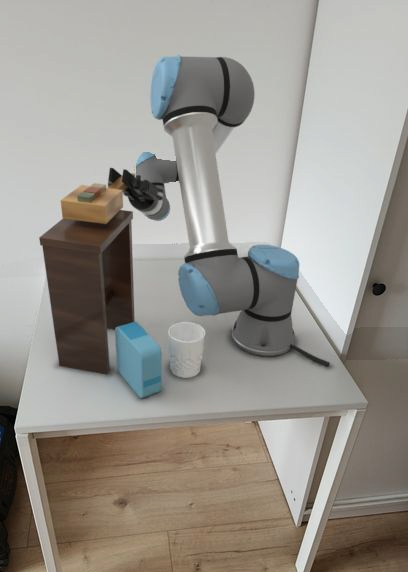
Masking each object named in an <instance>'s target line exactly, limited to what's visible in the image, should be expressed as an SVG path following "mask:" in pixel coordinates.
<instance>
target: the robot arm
mask: <svg viewBox="0 0 408 572" xmlns="http://www.w3.org/2000/svg"><path fill="white" fill-rule="evenodd" d="M149 98H150V111H151V114H152V117H153V118H154V119H156V120H158V121H161V120H162V125H163V130H164V132H166V133H167V134H168V135H169V136H170V137H172V142H173V143H172V144H173V149H174V155H175V156H176V161H170V160H162V159H157V158H156V156H155V154H152V153H150V152H143V153H142V154H141V155H140V156H139V158H138V160H137V163H136V173H135V177H134V176H133V175H132V174H131V172H130V171H129V170H127V169H125V168H123V169H122V174H121V173H120V172H118V171H117V169H115V168H113V167H109V170H108V171H109V172H108V178H107V188H108V187H109V186H110V185H111V184H112V183H114V182H115V181H116V180H117V179H118V178H120V177H121V176H122V175H123V176H122V182H123V183H124V184H125V185H126V186H128V187H127V188H126V189H125V190H124V191H123V196H125V197H127V199H128V202H129V204H130V205H131V206H132V207H133V208H134V209H136V210H137V211H139V212H140V213H142V214H143V215H144V217H146V218H147V219H149V220H152V221H154V222H155V221H156V222H161V221H163V220H165V219H167V217H168V216H169V214H170V212H171V204H170V201H169V200H168V198H167V193H166V186H165V184H170V183H169V182H176V181H179V182H178V183H179V188H180V194H181V200H182V207H183V214H184V220H185V225H186V226H185V227H186V233H187V238H188V239H187V240H188V245H189V248H188V250H187V252H186V253H185V255H183V256H184V257H183V258H184V263H183V264H181V265H180V266H179V268H178V272H177V275H178V281H177V282H178V286H179V290H180V294H181V297H182V299H183V301H184V303H185V305H186V307H187V308H188V309H189V311H190V312H191V313H192V314H193V315H195V316H197V317H207V316H219V315H221V314H228V313H233V312H239V314H238V316H237V318H236V320H234V321H233V323H232V327H231V340H232V341H233V343H234V345H235V346H236V347H238V349H240V350H242V351H244V353H245V352H246V353H247V354H251V355H254V356H258V357H278V356H281V355H284V354H286V353H288V352H289V351H290V350H294V351H295V352H297V353H299V354H301V355H303V356H304V357H306V358H308V359H310V360H312V361H314V362H317V363H318V364H321V365H324V366H326V367H329V366H330V364H331V363H330V362H329V361H327V360H324V359H322V358H319V357H317V356H314V355H313V354H311V353H309V352H308V351H306V350H303V349H302V348H300V347H298V346H296V345H295V344H294V342H295V331H294V328H293V318H292V312H293V307H294V301H295V295H296V290H297V285H298V284H297V283H298V280H299V278H300V277H299V276H300V275H299V274H300V261H299V258H298V257H297V256H296V255H295V254H294V253H292V252H291V251H289V250H287V249H284V248H283V247H282V248H281V247H279V246H276V245H271V244H255V245H252V246H251V247H250V248H249V249H248V251H247V256H242V257H241V256H240V257H239V255H238V248H237V247H236V246H235V245H233V244H232V243H231V242H230V240H229V234H228V228H227V222H226V215H225V207H224V202H223V195H222V189H221V188H222V187H221V182H220V181H221V180H220V175H219V169H218V168H219V167H218V161H217V155H216V154H217V153H218V152H219V150H220V149H221V148H222V146H223V145H224V144H225V142H226V140H227V139H228V138H229V136H230V135H231V133H232V132H233V131H234V129H235V128H238V127H240V126H241V125H243V124H244V122H245V121H246V120H247V119H248V117H249V116H250V114H251V112H252V110H253V107H254V103H255V86H254V82H253V79H252V77H251V75H250V73H249V72H248V70H247V69H246V67H244V65H243V64H242V63H240V62H239V61H237V60H235V59H233V58H230V57H227V56H218V57H215V56H183V55H179V54H178V55H177V56H176V55H175V56H163V57H161V58H160V59H158V60H157V61H156V63H155V66H154V68H153V72H152V77H151V82H150V97H149Z"/></svg>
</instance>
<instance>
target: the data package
mask: <svg viewBox="0 0 408 572" xmlns="http://www.w3.org/2000/svg"><path fill="white" fill-rule="evenodd" d="M114 336H115V337H114V339H115V356H116V357H115V358H116V367H117V370H118V373H119V374H120V376H121V377H122V378H123V379H124V380H125V382H126V383H127V384H128V385H129V386H130V388H131V389H132V390H133V391H134V393H135V394H136V395H137V396H138V397H139V398H140V399H143V398H146V397H148V396H151V395H154V394H157V393H159V392H161V391H162V348H161V346H160V344H159V343H158V342H157V341H156V340H155V339H154V338H153V337H152V336H151V335H150V334H149V333H148V332H147V331H146V330H145V329H144V328H143V327H142V326H141V325H140V324H139V323H138V322H137V321H135V322H132V323H129V324H125V325H122V326H118V327H116V328H115V329H114Z"/></svg>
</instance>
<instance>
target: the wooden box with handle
mask: <svg viewBox="0 0 408 572" xmlns="http://www.w3.org/2000/svg"><path fill="white" fill-rule="evenodd" d="M130 173H131V172H130ZM131 174H132V175H133V176H134V177H135V178H136V173H133V172H132V173H131ZM121 175H122V176H123V174H121ZM122 176H121V177H120V178H118V179H117V180H116V181H115V182H114V183H112V184H111V185H110V186H109V187H108V186H107V184H106V183H97V182H93V183H92V184H90V185H87V184H86V185H84V184H81V185H79V186H78V187H77V188H75V189H74V190H72V191H71V192H70V193H68V194H67V195H66V196H64V197H63V198H61V199H60V209H61V218H62V219H63V218H64V219H72V220H79V221H87V222H95V223H102V224H107V223H108V222H109V221H110V220H111V219H112V218H113V217H114V216H115V215H116V214H117V213H118V212H119V211H120V210H123V208H124V194H123V191H124V190H125V189H126V188H127V187H128V186H126V185H125V184H124V183H123V182H122Z"/></svg>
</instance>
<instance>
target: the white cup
mask: <svg viewBox="0 0 408 572" xmlns="http://www.w3.org/2000/svg"><path fill="white" fill-rule="evenodd" d="M167 333H168V334H167V335H168V337H167V338H168V356H169V358H168V359H169V370H170V371H171V373H172V375H174V376H176V377H178V378H182V379H190V378H193V377H196V376H197V375H198V374H199V373H201V365H202V361H203V355H204V347H205V338H206V330H205V328H204V327H203V326H202V325H200V324H198V323H196V322H190V321H181V322H177V323H174V324H172V325H171V326H170V327H169V328H168V331H167Z"/></svg>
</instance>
